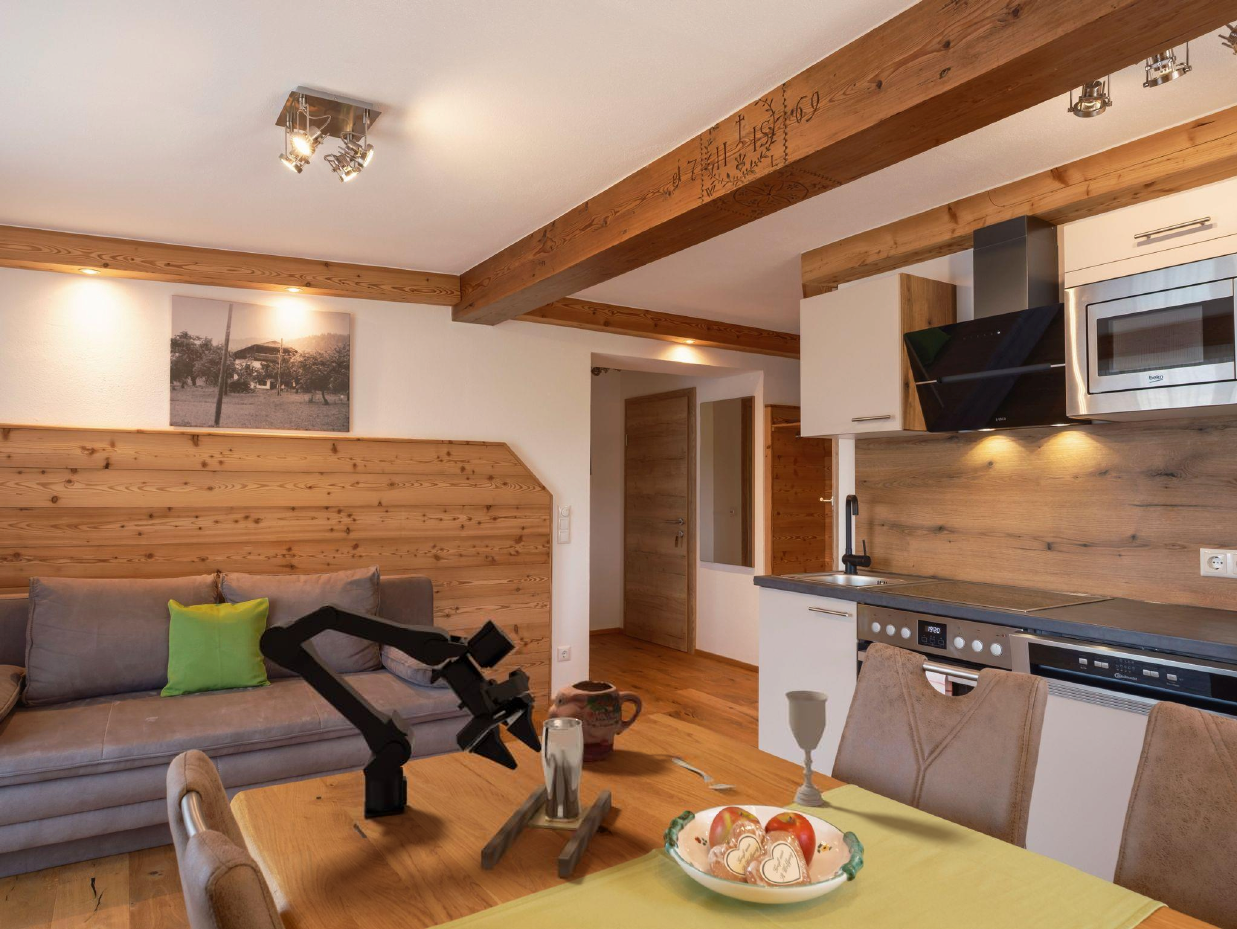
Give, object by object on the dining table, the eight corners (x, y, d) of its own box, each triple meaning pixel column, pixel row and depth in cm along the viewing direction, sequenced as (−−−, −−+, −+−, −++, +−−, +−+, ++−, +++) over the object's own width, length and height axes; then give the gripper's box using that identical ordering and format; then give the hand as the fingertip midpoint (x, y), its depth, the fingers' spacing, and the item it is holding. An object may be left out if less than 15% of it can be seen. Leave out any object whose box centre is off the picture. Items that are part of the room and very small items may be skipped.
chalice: (782, 804, 136) (780, 697, 137) (793, 790, 142) (791, 688, 143) (825, 811, 133) (823, 702, 134) (834, 797, 139) (832, 693, 140)
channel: (568, 877, 111) (568, 859, 111) (481, 868, 114) (481, 851, 114) (611, 805, 136) (611, 790, 137) (538, 799, 139) (538, 785, 139)
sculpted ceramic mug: (628, 738, 173) (628, 674, 174) (653, 755, 162) (652, 686, 163) (540, 751, 165) (540, 683, 166) (559, 770, 154) (559, 697, 155)
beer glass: (587, 806, 135) (586, 717, 135) (580, 823, 128) (579, 729, 129) (546, 805, 136) (545, 716, 136) (537, 822, 129) (537, 728, 129)
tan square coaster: (584, 831, 126) (584, 828, 126) (527, 826, 128) (527, 823, 128) (598, 809, 135) (598, 806, 135) (544, 804, 137) (544, 802, 137)
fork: (672, 754, 163) (672, 746, 164) (738, 795, 141) (738, 785, 142) (659, 757, 162) (658, 748, 162) (723, 798, 140) (723, 788, 140)
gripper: (472, 668, 128) (534, 745, 123) (525, 646, 145) (581, 713, 141) (429, 713, 130) (489, 790, 126) (486, 686, 147) (541, 753, 143)
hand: (528, 759), depth 134 cm, fingers open, 9 cm apart
